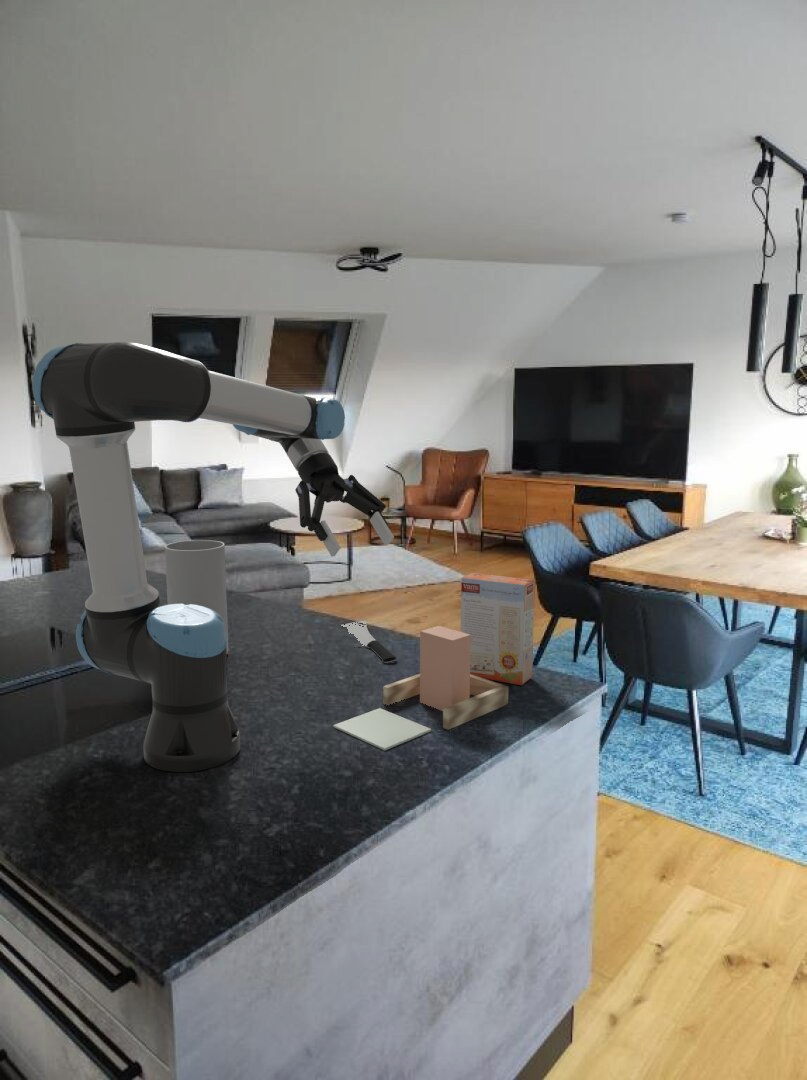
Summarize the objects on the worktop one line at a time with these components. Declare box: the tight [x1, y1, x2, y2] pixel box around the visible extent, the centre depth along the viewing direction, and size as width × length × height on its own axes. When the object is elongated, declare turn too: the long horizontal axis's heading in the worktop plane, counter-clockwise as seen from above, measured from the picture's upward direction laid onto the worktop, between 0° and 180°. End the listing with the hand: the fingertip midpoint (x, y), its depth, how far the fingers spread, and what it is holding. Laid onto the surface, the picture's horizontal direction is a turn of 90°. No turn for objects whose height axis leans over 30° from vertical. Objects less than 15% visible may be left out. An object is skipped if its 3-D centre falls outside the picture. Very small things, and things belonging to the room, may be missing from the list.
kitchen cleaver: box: [340, 620, 397, 663], centre depth 186 cm, size 31×2×10 cm
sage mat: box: [333, 707, 432, 752], centre depth 138 cm, size 11×13×1 cm
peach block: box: [419, 625, 471, 712], centre depth 147 cm, size 5×8×14 cm, turn 45°
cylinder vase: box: [164, 539, 229, 655], centre depth 174 cm, size 12×12×25 cm
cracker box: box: [460, 572, 536, 686], centre depth 162 cm, size 14×6×21 cm, turn 59°
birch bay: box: [382, 673, 509, 730], centre depth 149 cm, size 17×16×4 cm
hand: (363, 547), depth 153 cm, fingers open, 13 cm apart
